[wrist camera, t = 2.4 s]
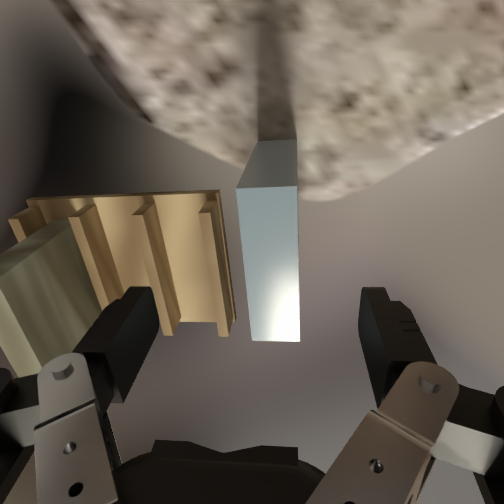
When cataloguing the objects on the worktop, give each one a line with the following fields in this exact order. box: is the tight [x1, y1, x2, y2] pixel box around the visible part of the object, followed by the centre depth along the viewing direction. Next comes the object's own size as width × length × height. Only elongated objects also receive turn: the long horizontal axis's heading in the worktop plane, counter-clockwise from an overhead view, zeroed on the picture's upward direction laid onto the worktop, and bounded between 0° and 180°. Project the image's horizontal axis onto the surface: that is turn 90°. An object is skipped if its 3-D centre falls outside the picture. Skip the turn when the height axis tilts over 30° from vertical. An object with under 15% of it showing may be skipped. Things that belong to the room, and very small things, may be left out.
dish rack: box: [0, 190, 236, 378], centre depth 23 cm, size 14×11×9 cm
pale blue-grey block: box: [236, 139, 300, 342], centre depth 19 cm, size 2×8×9 cm, turn 4°
